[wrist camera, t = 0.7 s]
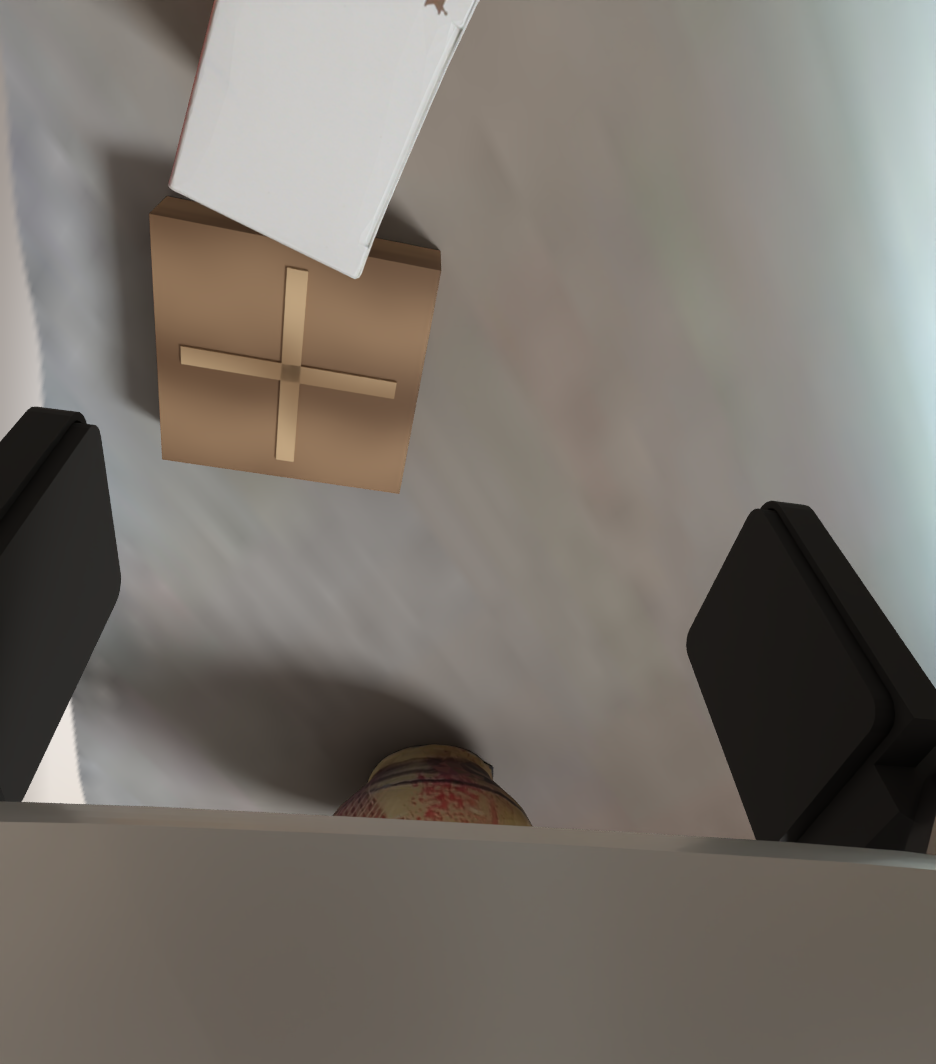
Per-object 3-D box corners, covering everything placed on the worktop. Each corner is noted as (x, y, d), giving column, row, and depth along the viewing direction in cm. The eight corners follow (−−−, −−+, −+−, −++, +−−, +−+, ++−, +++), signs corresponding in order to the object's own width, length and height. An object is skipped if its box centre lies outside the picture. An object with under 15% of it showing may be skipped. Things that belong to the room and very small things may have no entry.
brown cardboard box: (166, 195, 29) (148, 214, 27) (440, 250, 31) (441, 271, 29) (176, 432, 36) (161, 460, 34) (400, 466, 38) (399, 494, 36)
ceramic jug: (495, 689, 49) (554, 1369, 26) (553, 806, 58) (636, 1384, 35) (265, 747, 52) (132, 1404, 29) (356, 850, 61) (311, 1409, 38)
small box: (315, -140, 23) (253, -182, 15) (471, -36, 25) (492, -23, 17) (239, 115, 28) (159, 190, 19) (377, 189, 29) (357, 285, 21)
